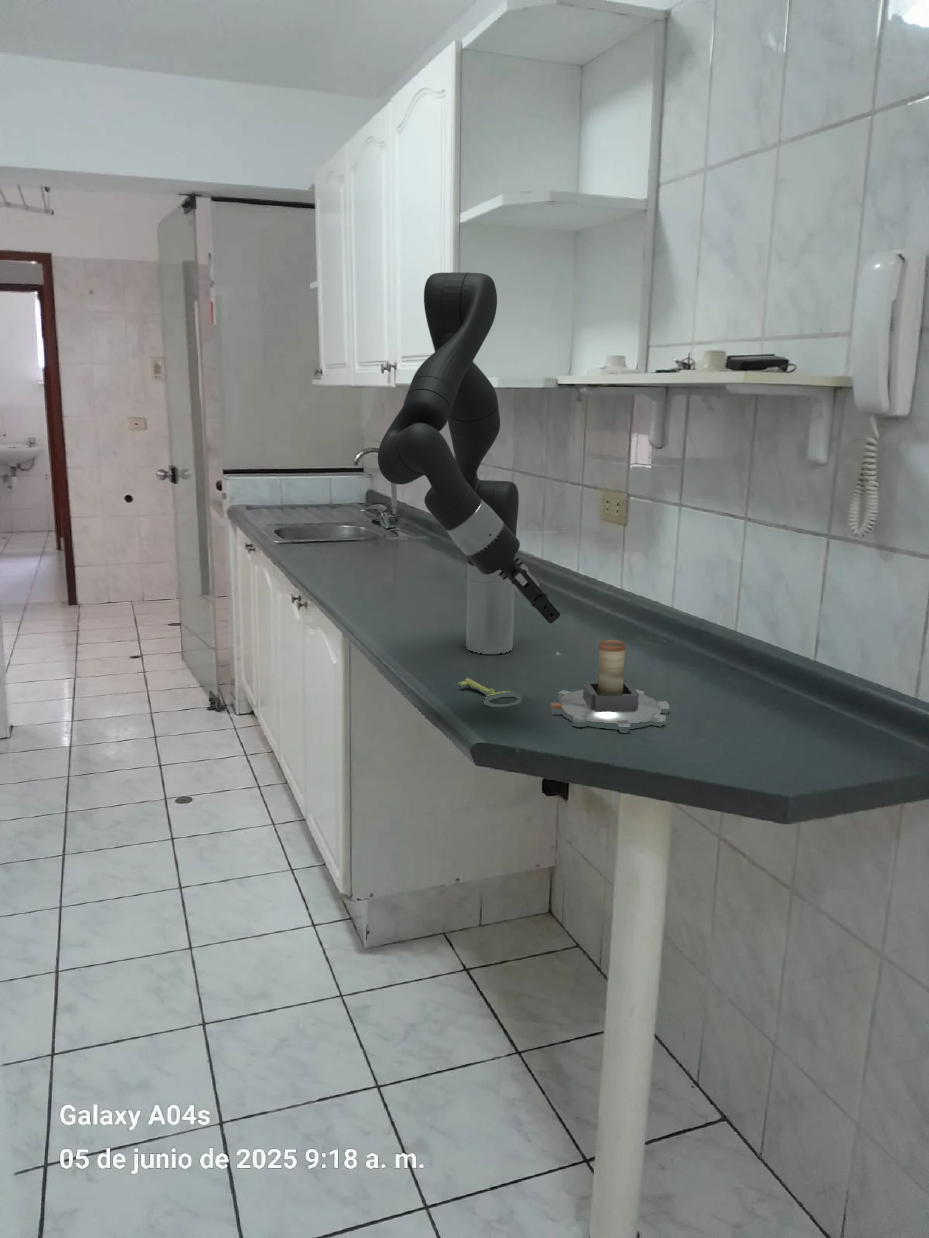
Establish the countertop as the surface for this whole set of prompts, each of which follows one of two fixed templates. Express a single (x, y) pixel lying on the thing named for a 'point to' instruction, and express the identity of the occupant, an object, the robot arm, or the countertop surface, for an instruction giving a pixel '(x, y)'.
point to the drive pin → (611, 667)
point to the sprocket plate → (610, 705)
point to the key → (479, 686)
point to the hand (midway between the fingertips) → (547, 611)
